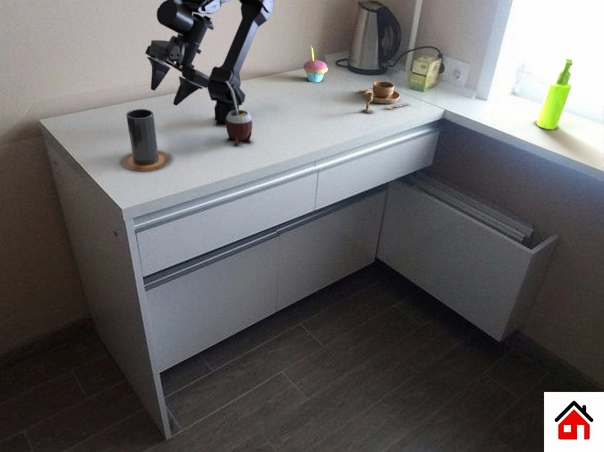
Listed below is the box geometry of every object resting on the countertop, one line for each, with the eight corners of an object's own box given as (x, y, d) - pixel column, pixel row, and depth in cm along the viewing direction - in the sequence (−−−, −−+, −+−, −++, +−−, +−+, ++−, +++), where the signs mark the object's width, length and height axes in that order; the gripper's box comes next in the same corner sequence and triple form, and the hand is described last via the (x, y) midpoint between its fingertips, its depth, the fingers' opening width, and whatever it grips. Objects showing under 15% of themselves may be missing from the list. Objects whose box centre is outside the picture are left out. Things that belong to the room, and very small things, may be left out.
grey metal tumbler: (161, 154, 125) (155, 109, 118) (155, 165, 120) (149, 119, 113) (136, 154, 125) (130, 108, 118) (130, 165, 120) (123, 118, 113)
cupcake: (301, 82, 178) (303, 48, 171) (305, 75, 185) (307, 42, 178) (325, 84, 177) (327, 50, 170) (327, 77, 184) (330, 44, 177)
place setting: (413, 104, 165) (416, 87, 162) (367, 114, 155) (369, 96, 152) (378, 88, 177) (380, 71, 174) (333, 97, 167) (335, 79, 164)
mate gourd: (248, 148, 131) (247, 93, 123) (219, 144, 132) (217, 89, 124) (255, 137, 137) (255, 83, 129) (228, 133, 138) (226, 80, 130)
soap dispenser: (555, 122, 158) (578, 59, 147) (557, 130, 152) (580, 65, 141) (535, 119, 159) (557, 56, 148) (536, 127, 154) (558, 62, 143)
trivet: (173, 151, 127) (173, 151, 127) (163, 172, 118) (163, 171, 118) (129, 150, 127) (129, 149, 127) (117, 170, 118) (117, 169, 118)
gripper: (141, 13, 118) (116, 73, 122) (190, 40, 110) (162, 104, 113) (174, 30, 128) (150, 86, 131) (222, 57, 120) (195, 115, 123)
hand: (163, 97), depth 125 cm, fingers open, 9 cm apart
